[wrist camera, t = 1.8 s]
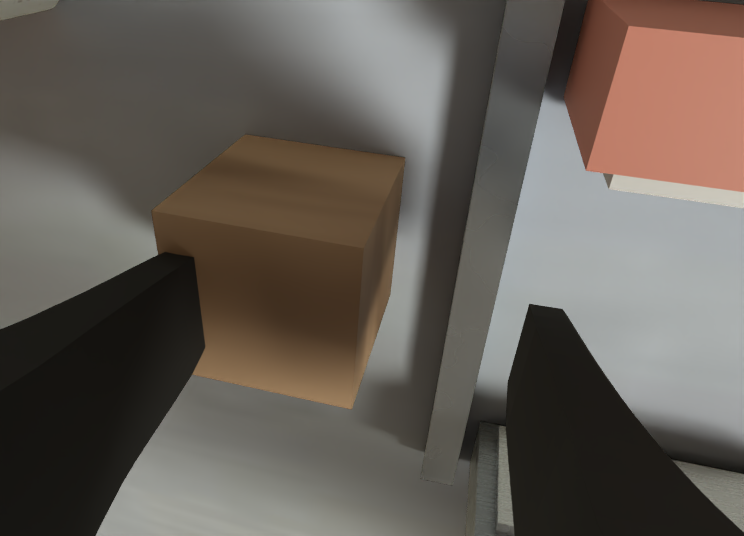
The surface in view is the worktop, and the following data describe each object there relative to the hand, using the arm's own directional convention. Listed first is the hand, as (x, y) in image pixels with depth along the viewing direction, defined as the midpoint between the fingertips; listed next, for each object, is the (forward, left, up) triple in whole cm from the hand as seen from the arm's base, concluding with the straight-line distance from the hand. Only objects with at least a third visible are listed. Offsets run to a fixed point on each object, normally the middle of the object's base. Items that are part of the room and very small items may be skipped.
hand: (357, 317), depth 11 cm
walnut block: (0, +2, -5) cm, 5 cm away
